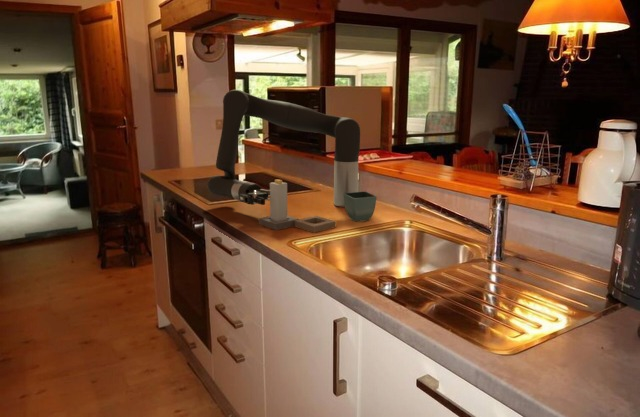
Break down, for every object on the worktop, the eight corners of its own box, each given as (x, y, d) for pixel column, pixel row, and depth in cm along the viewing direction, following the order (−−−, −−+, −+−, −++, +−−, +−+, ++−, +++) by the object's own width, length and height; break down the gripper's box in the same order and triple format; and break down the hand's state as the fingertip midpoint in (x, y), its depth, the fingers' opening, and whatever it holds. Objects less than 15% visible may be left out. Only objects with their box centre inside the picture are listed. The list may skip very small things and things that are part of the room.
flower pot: (353, 224, 162) (353, 198, 159) (342, 218, 169) (342, 193, 167) (376, 222, 165) (377, 196, 163) (364, 215, 173) (365, 191, 170)
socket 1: (281, 219, 167) (281, 213, 167) (299, 224, 161) (299, 218, 160) (258, 224, 161) (258, 218, 161) (276, 230, 154) (276, 224, 154)
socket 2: (315, 221, 165) (315, 215, 165) (335, 227, 158) (335, 221, 158) (294, 226, 159) (294, 220, 158) (314, 232, 152) (314, 226, 152)
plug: (280, 222, 164) (279, 178, 160) (287, 224, 161) (287, 180, 157) (270, 224, 161) (269, 179, 157) (278, 226, 158) (277, 181, 155)
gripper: (228, 184, 166) (256, 191, 155) (262, 179, 176) (291, 185, 164) (229, 205, 168) (257, 214, 157) (263, 199, 178) (291, 207, 166)
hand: (274, 199), depth 161 cm, fingers open, 8 cm apart
